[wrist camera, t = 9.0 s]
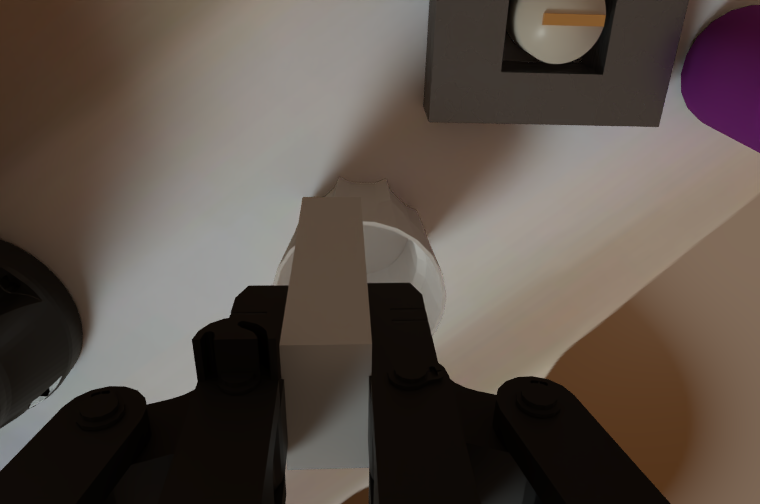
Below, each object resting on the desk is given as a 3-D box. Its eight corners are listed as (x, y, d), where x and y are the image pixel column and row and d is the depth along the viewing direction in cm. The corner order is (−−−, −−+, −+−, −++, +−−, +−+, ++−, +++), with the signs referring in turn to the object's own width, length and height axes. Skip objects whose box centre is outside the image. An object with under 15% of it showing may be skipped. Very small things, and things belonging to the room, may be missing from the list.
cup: (357, 311, 47) (355, 396, 38) (262, 225, 44) (236, 296, 35) (457, 232, 44) (480, 304, 35) (364, 133, 41) (363, 185, 32)
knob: (500, 51, 38) (514, 63, 34) (509, -33, 36) (526, -30, 32) (575, 53, 38) (598, 65, 35) (589, -30, 36) (615, -28, 32)
